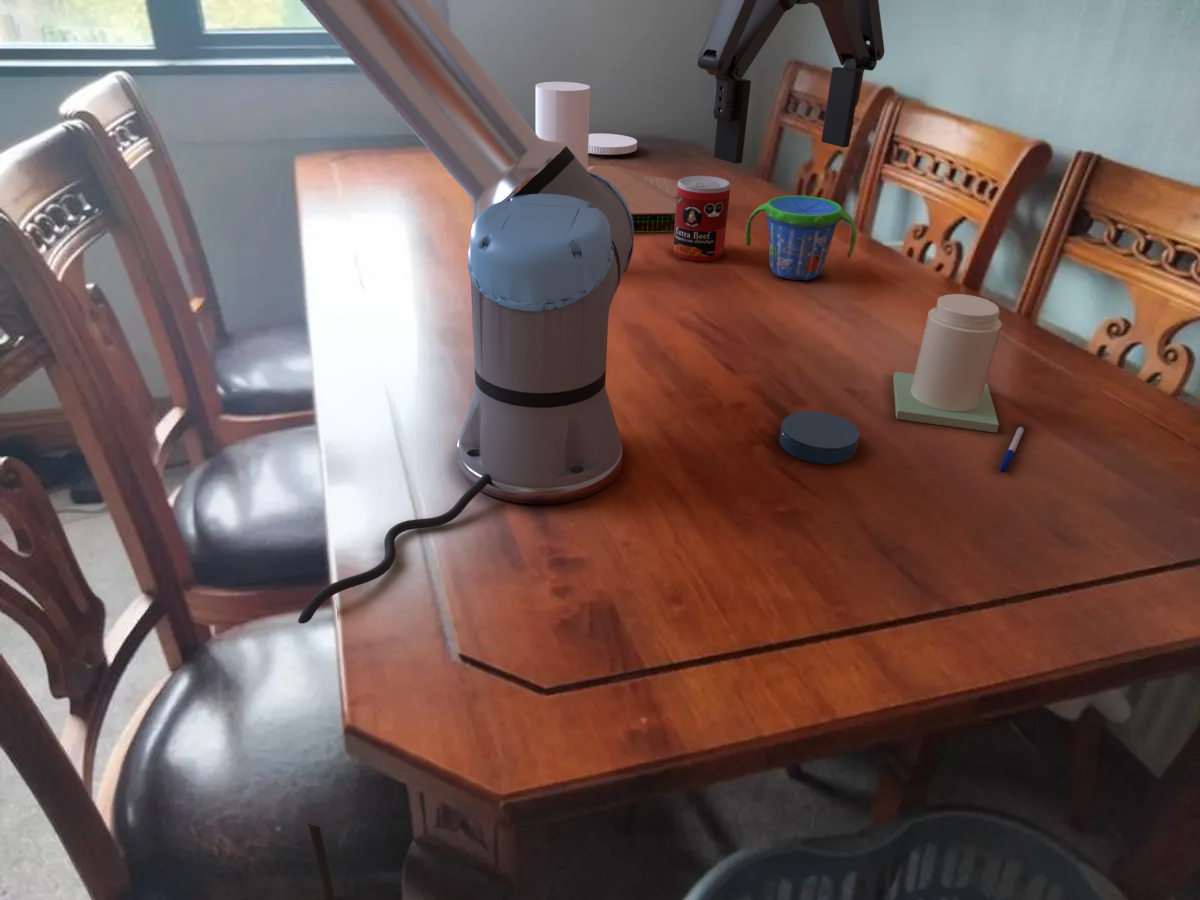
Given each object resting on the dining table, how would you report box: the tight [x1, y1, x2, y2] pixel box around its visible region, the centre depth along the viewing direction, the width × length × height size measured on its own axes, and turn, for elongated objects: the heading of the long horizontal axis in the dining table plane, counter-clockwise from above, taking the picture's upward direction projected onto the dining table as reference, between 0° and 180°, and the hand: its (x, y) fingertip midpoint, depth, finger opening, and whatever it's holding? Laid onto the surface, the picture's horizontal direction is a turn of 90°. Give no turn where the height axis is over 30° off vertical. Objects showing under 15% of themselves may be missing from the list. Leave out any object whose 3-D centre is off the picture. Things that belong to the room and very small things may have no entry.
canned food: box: [672, 175, 731, 263], centre depth 137 cm, size 8×8×11 cm
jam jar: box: [910, 293, 1003, 412], centre depth 95 cm, size 7×7×10 cm
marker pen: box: [999, 424, 1025, 473], centre depth 90 cm, size 10×1×1 cm, turn 150°
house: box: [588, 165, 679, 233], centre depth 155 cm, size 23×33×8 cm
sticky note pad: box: [892, 371, 1000, 434], centre depth 98 cm, size 10×10×1 cm
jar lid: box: [779, 410, 860, 465], centre depth 89 cm, size 8×8×2 cm
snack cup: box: [745, 195, 857, 281], centre depth 131 cm, size 16×10×10 cm
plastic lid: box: [588, 132, 638, 156], centre depth 198 cm, size 14×14×2 cm
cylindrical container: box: [535, 81, 591, 171], centre depth 125 cm, size 7×7×25 cm
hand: (783, 152), depth 81 cm, fingers open, 13 cm apart
